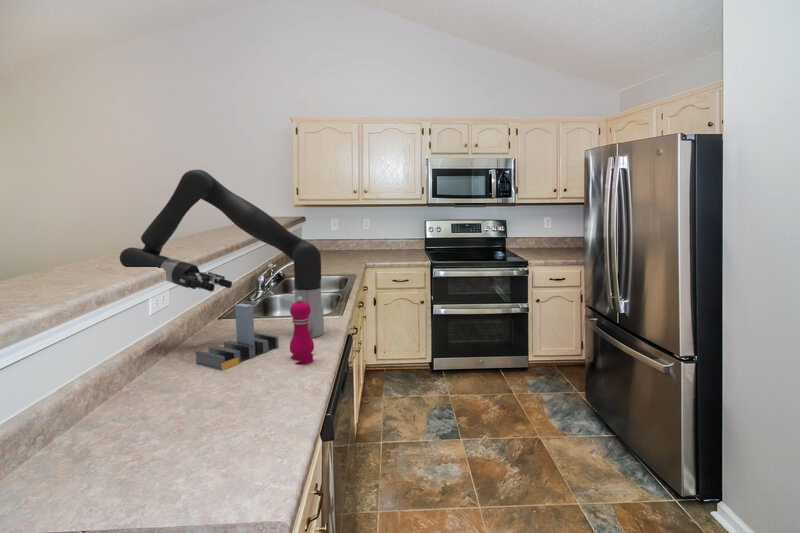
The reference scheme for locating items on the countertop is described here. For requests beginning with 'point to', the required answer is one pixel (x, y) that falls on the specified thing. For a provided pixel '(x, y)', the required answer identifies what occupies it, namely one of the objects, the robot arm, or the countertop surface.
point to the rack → (236, 352)
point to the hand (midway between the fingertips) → (222, 286)
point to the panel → (245, 323)
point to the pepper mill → (301, 333)
